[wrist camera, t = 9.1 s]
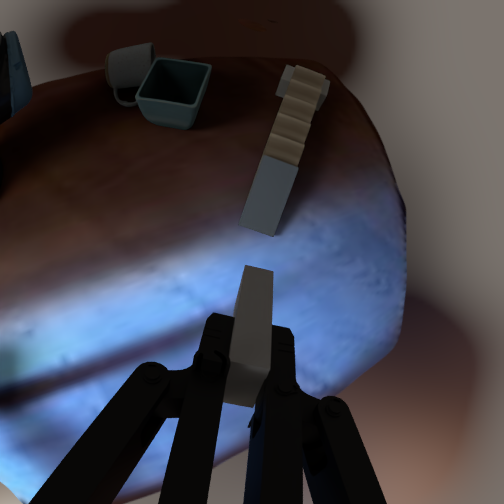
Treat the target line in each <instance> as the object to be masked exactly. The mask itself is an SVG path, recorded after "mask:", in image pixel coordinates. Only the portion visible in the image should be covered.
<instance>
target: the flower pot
mask: <svg viewBox="0 0 504 504" xmlns="http://www.w3.org/2000/svg"><path fill="white" fill-rule="evenodd" d="M211 69H212V66H211V65H210V64H205V63H198V62H191V61H185V60H177V59H170V58H161V57H159V58H156V59H155V60H154V62H153V63H152V65H151V67H150V69H149V71H148V73H147V75H146V77H145V79H144V80H143V82H142V84H141V86H140V88H139V90H138V92H137V94H136V96H135V98H136V101H137V103H138V105H139V108H140V110H141V112H142V114H143V116H144V117H145V118H146V119H147V120H148V121H150V122H152V123H154V124H156V125H159V126H165V127H171V128H177V129H182V130H187V129H189V128H191V127H192V125H193V124H194V121H195V119H196V116H197V113H198V110H199V107H200V104H201V102H202V99H203V96H204V94H205V91H206V88H207V85H208V81H209V77H210V73H211Z"/></svg>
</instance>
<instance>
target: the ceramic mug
mask: <svg viewBox="0 0 504 504" xmlns="http://www.w3.org/2000/svg"><path fill="white" fill-rule="evenodd" d="M155 59H156V55H155V49H154V45H153V43H147V44H141V45H136V46H132V47H127V48H123V49H118V50H115V51H113V52H111V53H109V54H108V55H107V57H106V60H105V75H106V80H107V83H108V85H109V86H110V87H111V88H114V96H115V99H116V100H117V102H118V103H119V104H121V105H123V106H126V107H132V106H136V105H138V103H137V101H135V102H127V101H122V100H119V98H118V93H117V90H118V89H121V88H128V87H137V86H141V84H142V82H143V80H144V79H145V77H146V75H147V73H148V71H149V69H150V67H151V65H152V63H153V62H154V60H155Z"/></svg>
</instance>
